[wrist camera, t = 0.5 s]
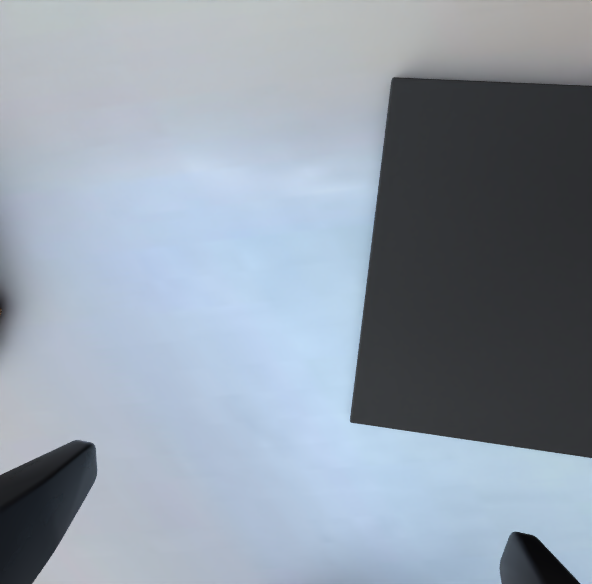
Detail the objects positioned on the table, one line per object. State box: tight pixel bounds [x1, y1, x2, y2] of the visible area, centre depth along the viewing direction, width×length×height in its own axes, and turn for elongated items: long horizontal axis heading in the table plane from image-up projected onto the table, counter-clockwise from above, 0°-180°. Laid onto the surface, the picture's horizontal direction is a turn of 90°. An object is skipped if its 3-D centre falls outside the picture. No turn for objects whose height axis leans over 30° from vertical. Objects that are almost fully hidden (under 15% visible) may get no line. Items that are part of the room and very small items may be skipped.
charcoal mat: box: [350, 77, 592, 458], centre depth 20 cm, size 18×20×1 cm
